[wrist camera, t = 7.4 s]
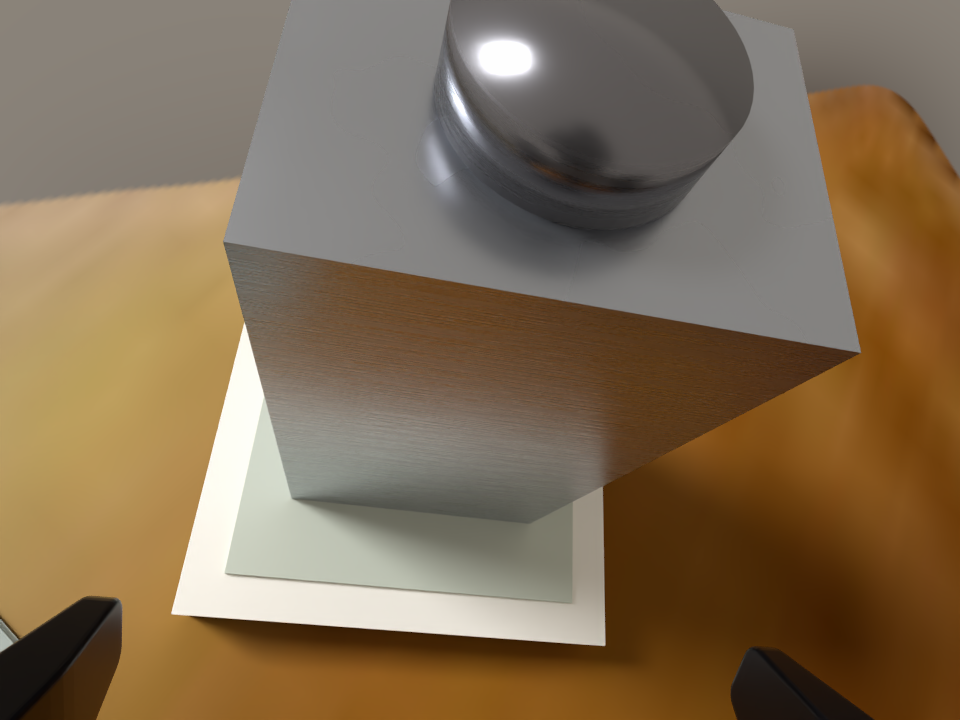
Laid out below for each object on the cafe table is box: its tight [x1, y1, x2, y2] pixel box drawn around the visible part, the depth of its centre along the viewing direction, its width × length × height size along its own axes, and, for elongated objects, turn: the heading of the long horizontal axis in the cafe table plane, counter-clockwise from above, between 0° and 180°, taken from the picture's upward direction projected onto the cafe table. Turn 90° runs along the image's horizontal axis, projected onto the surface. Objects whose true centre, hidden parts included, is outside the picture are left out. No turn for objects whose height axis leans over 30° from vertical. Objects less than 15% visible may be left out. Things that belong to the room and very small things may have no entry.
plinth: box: [171, 323, 605, 646], centre depth 19 cm, size 11×11×2 cm
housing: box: [223, 0, 861, 524], centre depth 12 cm, size 5×6×13 cm
